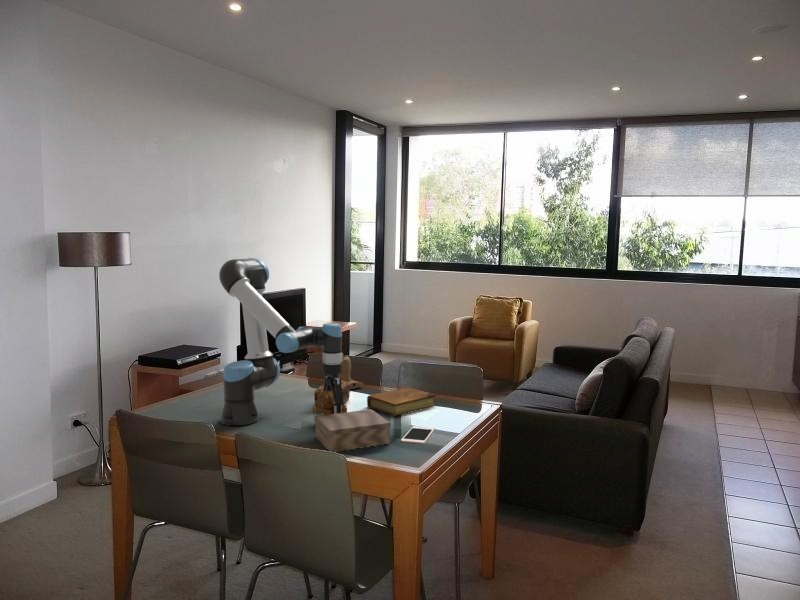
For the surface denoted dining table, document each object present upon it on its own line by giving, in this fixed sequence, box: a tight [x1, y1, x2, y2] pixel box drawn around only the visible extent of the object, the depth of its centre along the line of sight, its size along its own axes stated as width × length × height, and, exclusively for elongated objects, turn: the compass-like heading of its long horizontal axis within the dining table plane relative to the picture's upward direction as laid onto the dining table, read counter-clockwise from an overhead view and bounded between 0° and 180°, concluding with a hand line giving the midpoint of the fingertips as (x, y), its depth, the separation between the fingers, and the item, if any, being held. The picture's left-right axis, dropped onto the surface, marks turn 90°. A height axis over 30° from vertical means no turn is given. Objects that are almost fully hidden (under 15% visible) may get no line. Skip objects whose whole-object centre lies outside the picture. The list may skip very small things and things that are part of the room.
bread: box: [313, 380, 351, 408], centre depth 280 cm, size 19×11×10 cm, turn 165°
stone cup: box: [338, 355, 364, 390], centre depth 310 cm, size 15×12×15 cm
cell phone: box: [400, 425, 436, 445], centre depth 239 cm, size 9×18×1 cm, turn 164°
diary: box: [366, 386, 436, 417], centre depth 277 cm, size 23×19×6 cm
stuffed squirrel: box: [313, 390, 348, 426], centre depth 252 cm, size 10×14×13 cm
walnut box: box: [313, 408, 391, 453], centre depth 232 cm, size 23×19×8 cm
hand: (333, 416), depth 252 cm, fingers closed on stuffed squirrel, 12 cm apart
